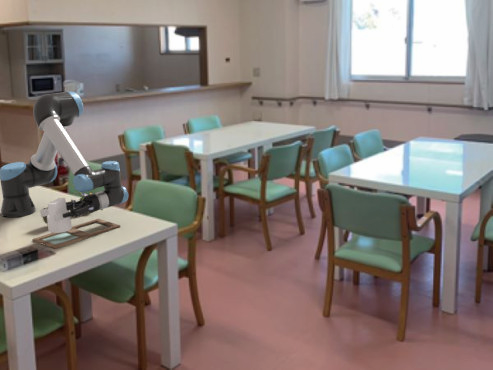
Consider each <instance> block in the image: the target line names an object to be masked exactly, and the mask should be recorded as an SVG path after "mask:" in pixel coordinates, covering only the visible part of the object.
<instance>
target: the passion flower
mask: <svg viewBox="0 0 493 370" xmlns="http://www.w3.org/2000/svg"><path fill="white" fill-rule="evenodd" d="M78 192H79V191H78ZM78 194H79V195H80V198H79V199H78V201H83V198H84V197H85V196H87V195H88V194H87V193H85V192H79V193H78ZM90 194H94V193H93V192H91V191H90V193H89V195H90ZM73 200H74V199H70V201H73Z"/></svg>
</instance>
